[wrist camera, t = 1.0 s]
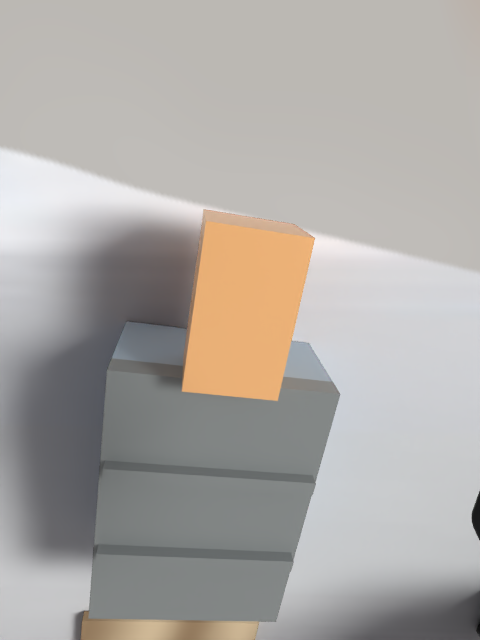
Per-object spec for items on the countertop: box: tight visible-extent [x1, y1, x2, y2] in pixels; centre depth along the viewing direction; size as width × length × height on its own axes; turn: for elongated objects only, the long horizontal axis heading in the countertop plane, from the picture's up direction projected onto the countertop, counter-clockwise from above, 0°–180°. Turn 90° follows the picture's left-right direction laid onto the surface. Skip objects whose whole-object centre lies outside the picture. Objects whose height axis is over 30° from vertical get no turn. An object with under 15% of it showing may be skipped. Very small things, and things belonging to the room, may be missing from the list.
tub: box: [112, 321, 332, 382], centre depth 21 cm, size 9×13×4 cm
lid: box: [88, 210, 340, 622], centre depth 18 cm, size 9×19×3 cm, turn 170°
